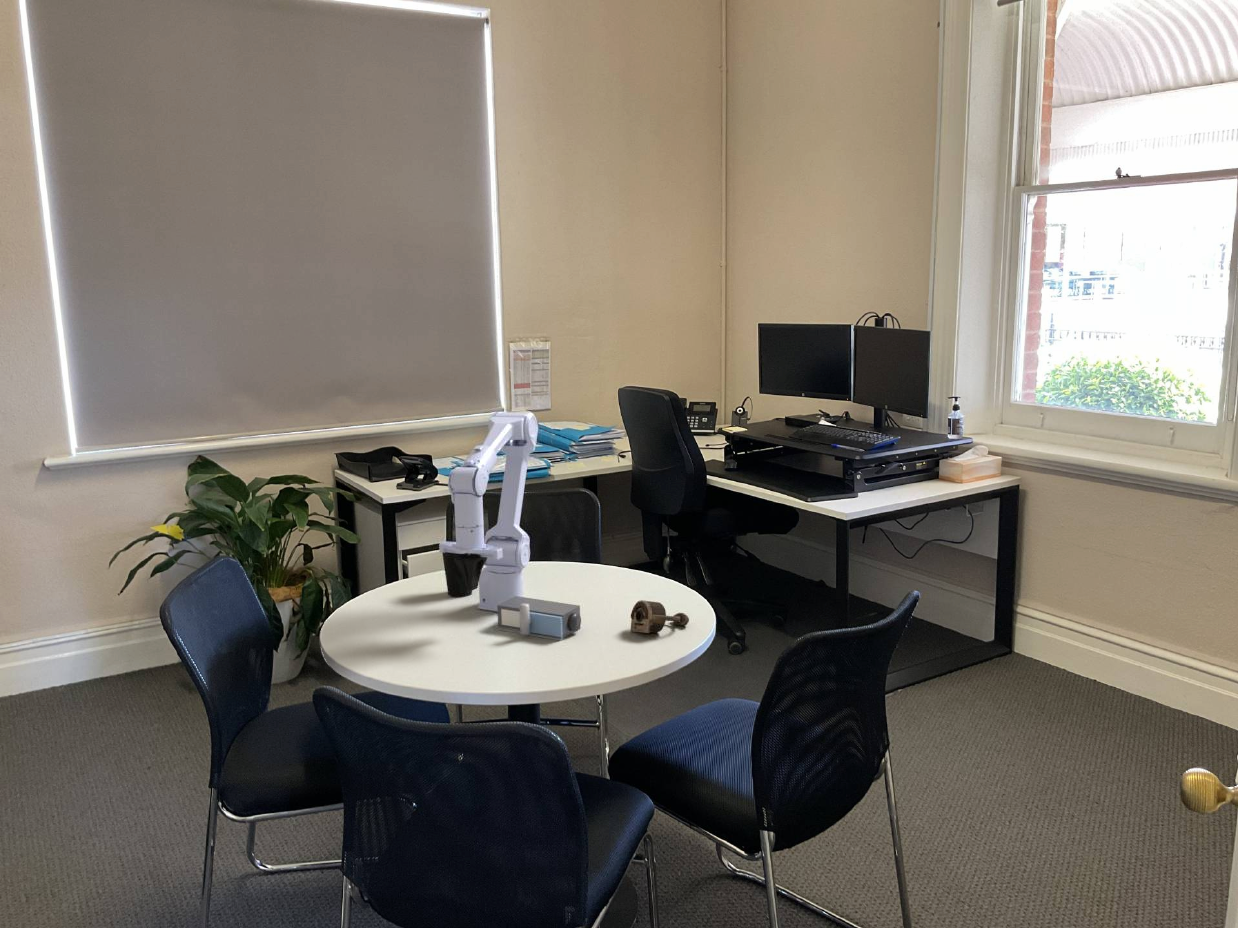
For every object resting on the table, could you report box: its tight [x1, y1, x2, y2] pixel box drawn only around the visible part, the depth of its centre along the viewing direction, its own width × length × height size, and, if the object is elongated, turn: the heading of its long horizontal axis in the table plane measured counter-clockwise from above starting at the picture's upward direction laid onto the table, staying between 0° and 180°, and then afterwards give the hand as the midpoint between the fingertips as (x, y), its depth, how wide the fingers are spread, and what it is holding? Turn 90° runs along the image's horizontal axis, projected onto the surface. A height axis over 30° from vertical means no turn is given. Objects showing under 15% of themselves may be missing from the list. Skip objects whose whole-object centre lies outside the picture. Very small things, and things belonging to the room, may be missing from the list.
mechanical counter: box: [630, 599, 690, 634], centre depth 205 cm, size 7×13×10 cm
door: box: [519, 603, 563, 637], centre depth 201 cm, size 9×3×6 cm, turn 63°
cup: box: [441, 540, 473, 598], centre depth 232 cm, size 8×8×12 cm
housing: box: [494, 596, 582, 641], centre depth 207 cm, size 17×8×5 cm, turn 63°
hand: (472, 588), depth 205 cm, fingers closed
